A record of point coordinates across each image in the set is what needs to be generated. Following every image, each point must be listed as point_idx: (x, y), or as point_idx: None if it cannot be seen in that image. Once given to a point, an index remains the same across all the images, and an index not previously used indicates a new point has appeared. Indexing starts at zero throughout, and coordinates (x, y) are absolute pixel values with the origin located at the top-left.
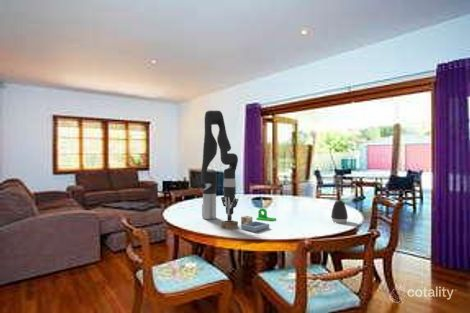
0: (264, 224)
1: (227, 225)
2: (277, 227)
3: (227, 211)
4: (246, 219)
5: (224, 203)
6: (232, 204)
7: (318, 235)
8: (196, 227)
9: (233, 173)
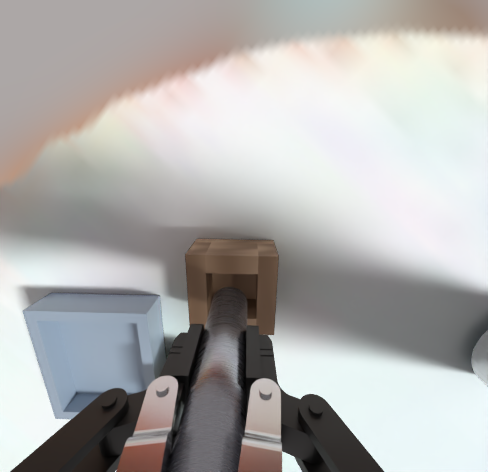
0: (85, 406)
1: (212, 248)
2: None
3: (233, 339)
4: None
5: (320, 450)
6: (85, 445)
7: None
8: (437, 120)
9: None
